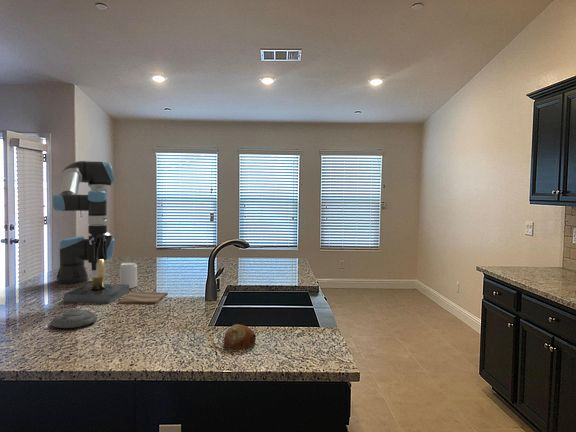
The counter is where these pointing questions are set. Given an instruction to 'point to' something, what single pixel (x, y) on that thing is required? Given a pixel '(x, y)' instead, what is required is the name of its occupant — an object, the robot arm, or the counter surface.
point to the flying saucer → (73, 319)
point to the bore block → (96, 294)
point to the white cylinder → (128, 274)
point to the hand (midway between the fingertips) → (98, 275)
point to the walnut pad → (143, 298)
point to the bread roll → (239, 337)
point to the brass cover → (99, 276)
